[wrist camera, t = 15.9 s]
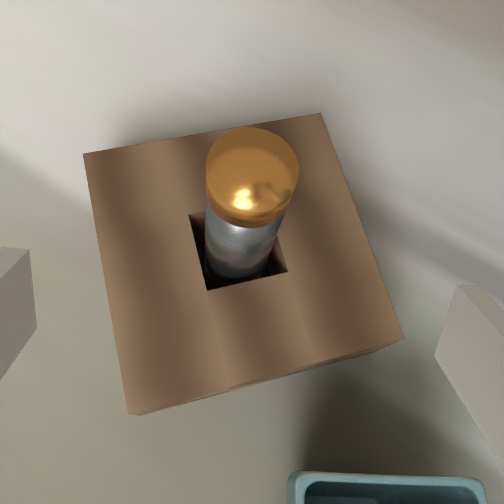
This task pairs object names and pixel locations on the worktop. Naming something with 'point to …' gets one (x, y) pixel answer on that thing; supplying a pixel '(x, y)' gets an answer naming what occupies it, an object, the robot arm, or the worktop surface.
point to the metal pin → (245, 202)
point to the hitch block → (239, 295)
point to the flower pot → (382, 489)
